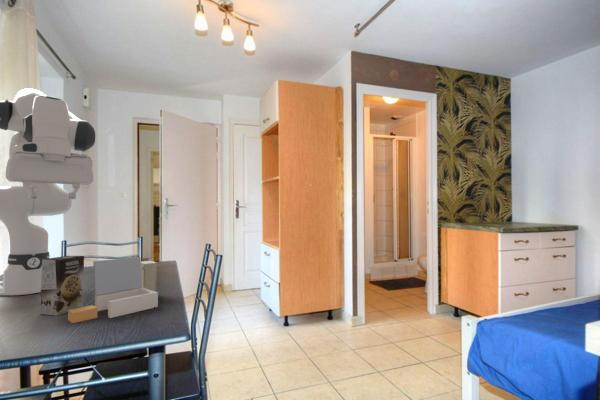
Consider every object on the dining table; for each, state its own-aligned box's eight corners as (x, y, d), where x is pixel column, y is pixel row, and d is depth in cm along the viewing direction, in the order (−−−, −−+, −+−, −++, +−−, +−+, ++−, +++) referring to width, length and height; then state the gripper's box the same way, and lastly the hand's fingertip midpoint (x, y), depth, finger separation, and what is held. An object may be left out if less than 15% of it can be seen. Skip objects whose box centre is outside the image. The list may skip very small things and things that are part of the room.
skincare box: (138, 295, 117) (138, 261, 118) (151, 293, 120) (152, 260, 121) (142, 299, 112) (143, 263, 113) (156, 297, 115) (157, 262, 116)
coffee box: (57, 316, 95) (58, 259, 96) (39, 314, 96) (40, 258, 97) (84, 306, 104) (85, 255, 104) (66, 305, 105) (68, 254, 106)
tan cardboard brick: (67, 320, 92) (68, 309, 92) (92, 315, 96) (92, 305, 96) (72, 324, 89) (72, 312, 89) (97, 318, 94) (97, 307, 94)
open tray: (94, 310, 100) (94, 295, 100) (140, 300, 111) (141, 287, 111) (110, 318, 93) (110, 302, 93) (157, 306, 104) (157, 292, 104)
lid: (96, 295, 100) (94, 295, 101) (142, 287, 111) (140, 287, 112) (94, 261, 101) (92, 261, 102) (140, 256, 112) (138, 256, 113)
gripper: (88, 157, 106) (89, 200, 105) (3, 148, 90) (4, 199, 89) (96, 153, 102) (97, 198, 101) (9, 143, 86) (10, 196, 85)
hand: (53, 198), depth 95 cm, fingers open, 8 cm apart
